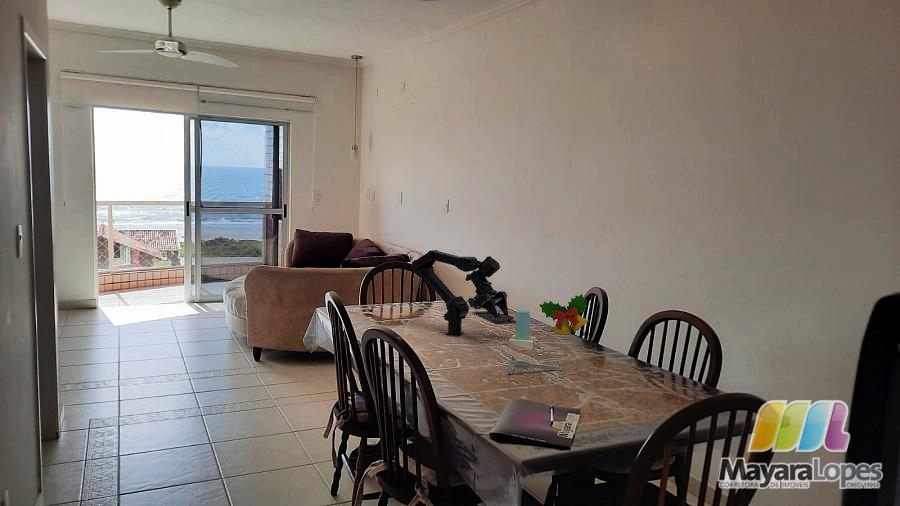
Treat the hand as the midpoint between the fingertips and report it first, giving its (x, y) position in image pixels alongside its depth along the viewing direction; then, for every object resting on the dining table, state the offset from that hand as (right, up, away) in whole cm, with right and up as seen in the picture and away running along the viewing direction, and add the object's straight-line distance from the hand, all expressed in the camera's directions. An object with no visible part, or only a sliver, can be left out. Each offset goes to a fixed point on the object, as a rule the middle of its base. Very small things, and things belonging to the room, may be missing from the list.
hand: (502, 316), depth 249 cm
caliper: (+8, -16, -34) cm, 39 cm away
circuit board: (+2, -6, +49) cm, 49 cm away
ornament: (+28, -9, +24) cm, 38 cm away
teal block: (+8, -8, -2) cm, 12 cm away
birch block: (+8, -12, -1) cm, 14 cm away
